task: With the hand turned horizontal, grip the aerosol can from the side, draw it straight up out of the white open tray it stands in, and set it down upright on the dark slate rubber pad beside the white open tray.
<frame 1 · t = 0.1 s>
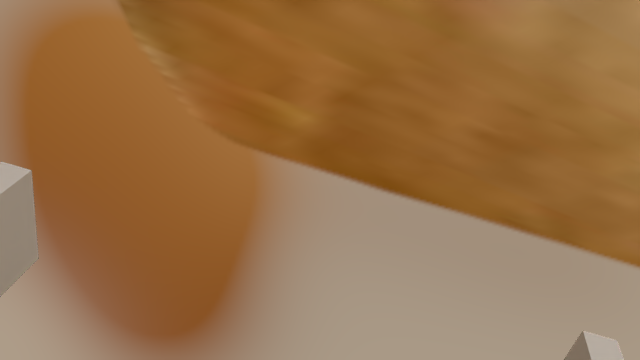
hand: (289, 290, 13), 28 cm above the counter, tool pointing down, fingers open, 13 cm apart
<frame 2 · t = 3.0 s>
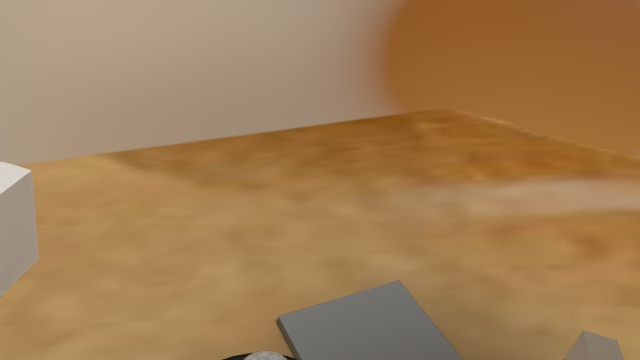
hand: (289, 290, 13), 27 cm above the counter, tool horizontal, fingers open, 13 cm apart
pad: (375, 358, 45), on the counter
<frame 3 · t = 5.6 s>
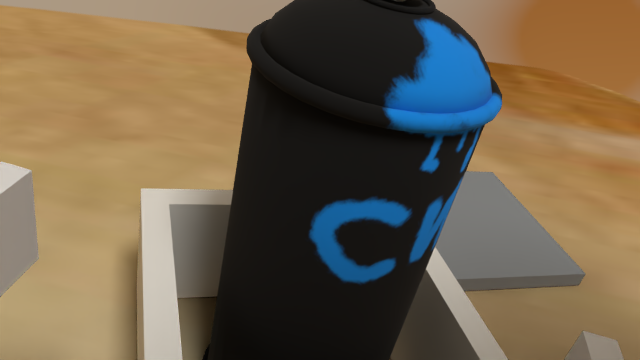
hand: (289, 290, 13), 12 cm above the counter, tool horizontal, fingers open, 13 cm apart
pad: (458, 228, 40), on the counter
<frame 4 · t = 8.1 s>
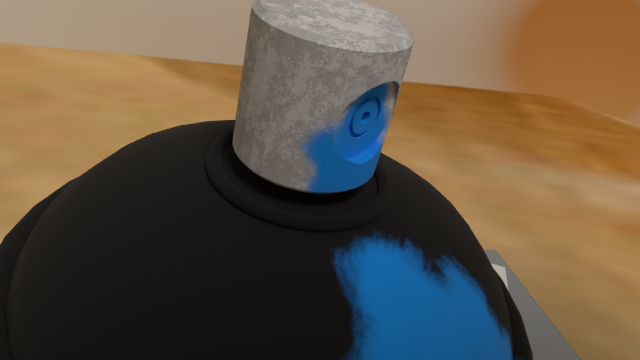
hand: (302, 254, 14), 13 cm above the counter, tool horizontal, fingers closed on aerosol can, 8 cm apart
pad: (453, 338, 31), on the counter
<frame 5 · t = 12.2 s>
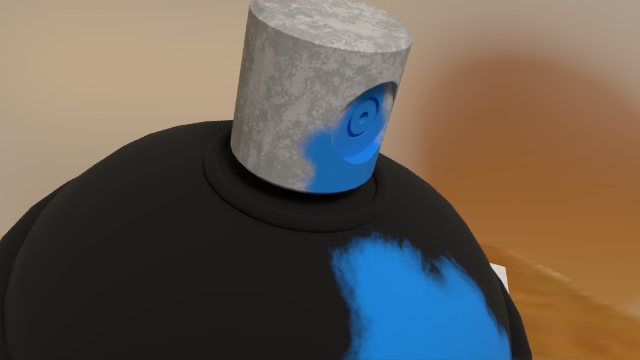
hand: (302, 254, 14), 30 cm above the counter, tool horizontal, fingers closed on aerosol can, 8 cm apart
when the fingers open (14 cm above the counter, at t = 16.4 s): aerosol can stays where it is, resting on pad.
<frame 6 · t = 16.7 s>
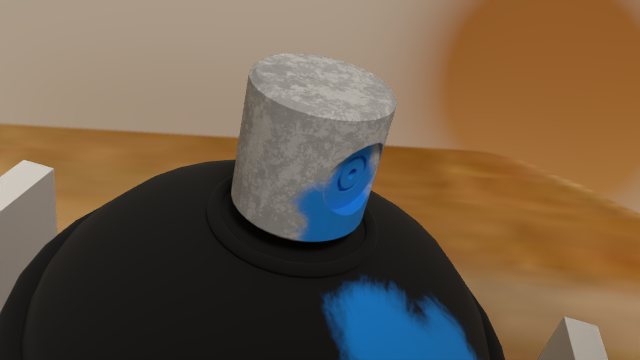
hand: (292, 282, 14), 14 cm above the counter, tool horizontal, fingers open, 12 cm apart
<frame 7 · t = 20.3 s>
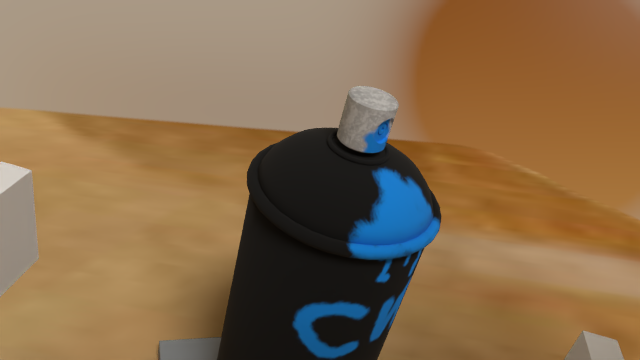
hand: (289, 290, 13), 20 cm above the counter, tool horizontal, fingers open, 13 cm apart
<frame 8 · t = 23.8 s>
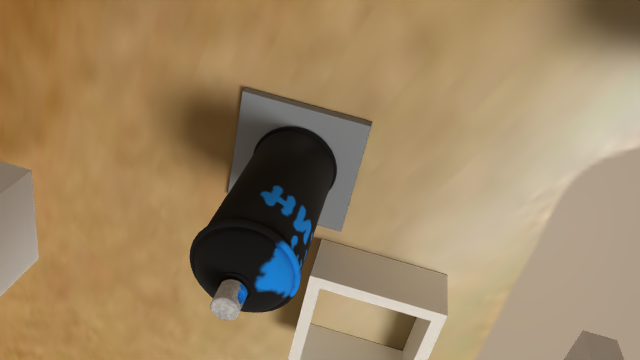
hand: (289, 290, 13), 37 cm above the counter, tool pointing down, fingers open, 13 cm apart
aerosol can: (295, 164, 53), point 1 cm above the counter, touching pad
pad: (296, 160, 54), on the counter
white open tray: (368, 303, 61), on the counter
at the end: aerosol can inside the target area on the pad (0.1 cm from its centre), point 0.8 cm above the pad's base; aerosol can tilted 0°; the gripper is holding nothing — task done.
